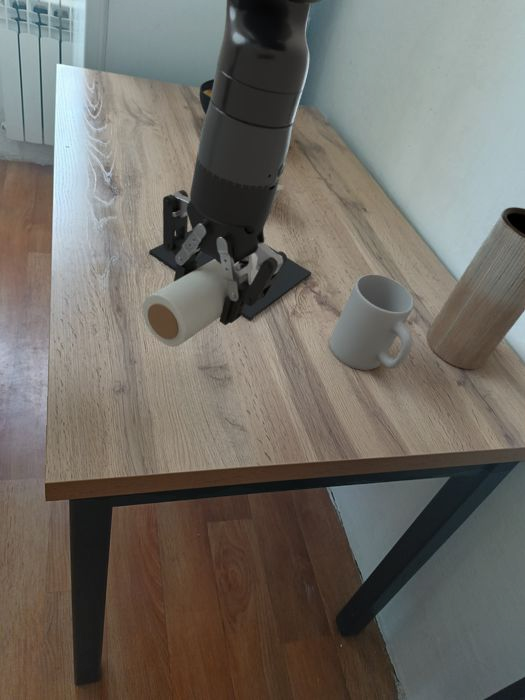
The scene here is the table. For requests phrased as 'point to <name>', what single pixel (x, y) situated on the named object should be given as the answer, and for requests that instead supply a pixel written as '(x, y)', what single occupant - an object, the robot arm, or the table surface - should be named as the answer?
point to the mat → (282, 285)
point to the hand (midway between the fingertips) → (205, 304)
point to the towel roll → (188, 303)
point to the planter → (484, 296)
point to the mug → (373, 324)
